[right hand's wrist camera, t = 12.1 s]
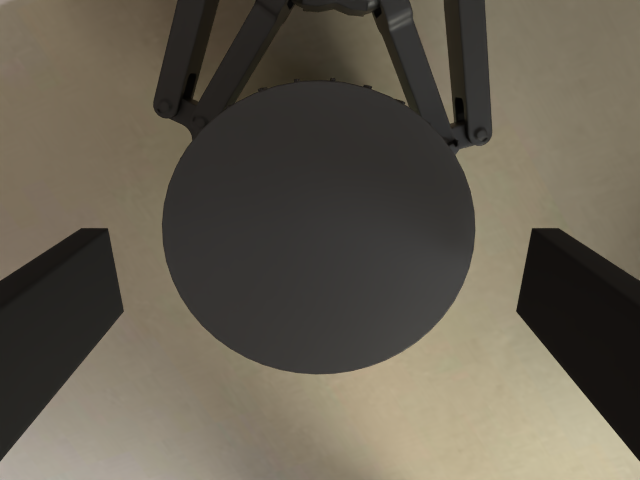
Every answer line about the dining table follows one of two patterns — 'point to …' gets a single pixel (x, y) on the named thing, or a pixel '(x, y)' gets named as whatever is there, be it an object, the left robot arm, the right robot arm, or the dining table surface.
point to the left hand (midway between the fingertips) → (312, 252)
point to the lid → (318, 227)
